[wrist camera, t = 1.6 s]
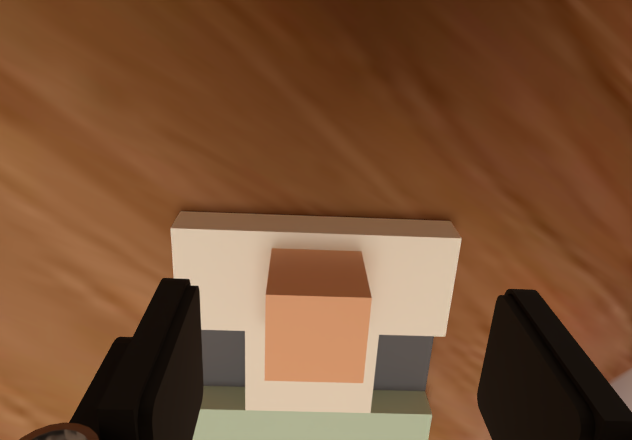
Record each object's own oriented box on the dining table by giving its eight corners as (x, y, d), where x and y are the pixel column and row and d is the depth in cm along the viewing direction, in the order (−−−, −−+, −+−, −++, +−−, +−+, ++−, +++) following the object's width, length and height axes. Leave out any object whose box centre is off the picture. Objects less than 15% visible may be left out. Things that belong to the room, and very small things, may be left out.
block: (271, 248, 30) (265, 294, 25) (361, 251, 30) (371, 298, 25) (270, 324, 32) (264, 380, 27) (354, 326, 32) (363, 383, 27)
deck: (180, 211, 31) (170, 228, 29) (450, 221, 32) (461, 238, 30) (194, 465, 39) (187, 494, 37) (411, 469, 40) (418, 498, 37)
